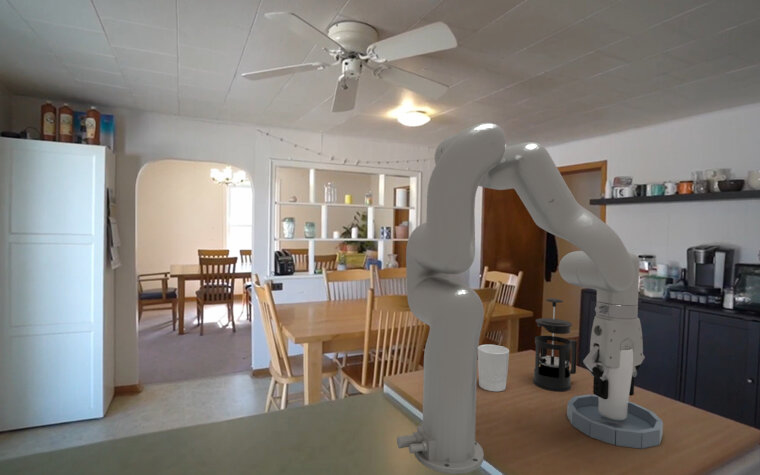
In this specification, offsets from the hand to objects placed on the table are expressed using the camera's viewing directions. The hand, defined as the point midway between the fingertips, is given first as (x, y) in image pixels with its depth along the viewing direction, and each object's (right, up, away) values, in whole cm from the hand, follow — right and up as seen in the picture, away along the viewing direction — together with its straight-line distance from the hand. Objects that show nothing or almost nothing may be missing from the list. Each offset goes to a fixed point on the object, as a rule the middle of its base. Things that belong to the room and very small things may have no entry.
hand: (613, 394), depth 85 cm
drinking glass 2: (0, -5, 0) cm, 5 cm away
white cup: (-20, -6, +20) cm, 29 cm away
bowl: (0, -7, 0) cm, 7 cm away
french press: (-3, -6, +22) cm, 23 cm away
